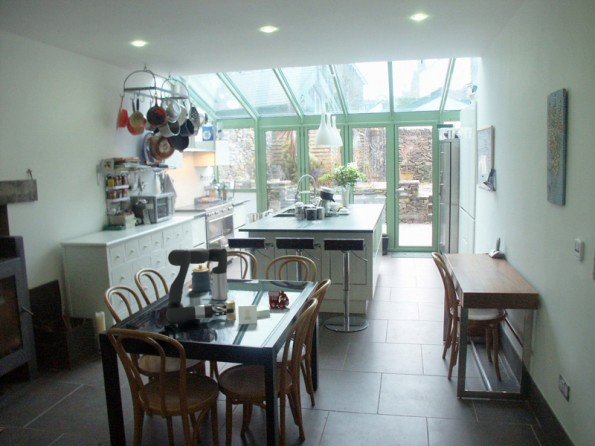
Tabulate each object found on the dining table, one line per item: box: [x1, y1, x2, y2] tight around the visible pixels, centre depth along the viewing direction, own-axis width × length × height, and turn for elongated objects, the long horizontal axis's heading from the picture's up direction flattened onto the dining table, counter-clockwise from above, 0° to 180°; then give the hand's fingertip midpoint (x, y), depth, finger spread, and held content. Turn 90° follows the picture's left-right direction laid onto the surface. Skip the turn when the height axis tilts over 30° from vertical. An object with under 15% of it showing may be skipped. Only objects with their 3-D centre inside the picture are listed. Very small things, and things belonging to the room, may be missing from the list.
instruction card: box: [237, 304, 258, 325], centre depth 271 cm, size 10×3×10 cm, turn 96°
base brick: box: [257, 305, 271, 319], centre depth 285 cm, size 8×8×4 cm
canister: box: [190, 264, 212, 293], centre depth 340 cm, size 13×13×18 cm
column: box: [225, 299, 237, 321], centre depth 278 cm, size 4×4×10 cm
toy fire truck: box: [267, 290, 290, 310], centre depth 298 cm, size 7×12×10 cm, turn 81°
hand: (232, 308), depth 278 cm, fingers open, 8 cm apart
